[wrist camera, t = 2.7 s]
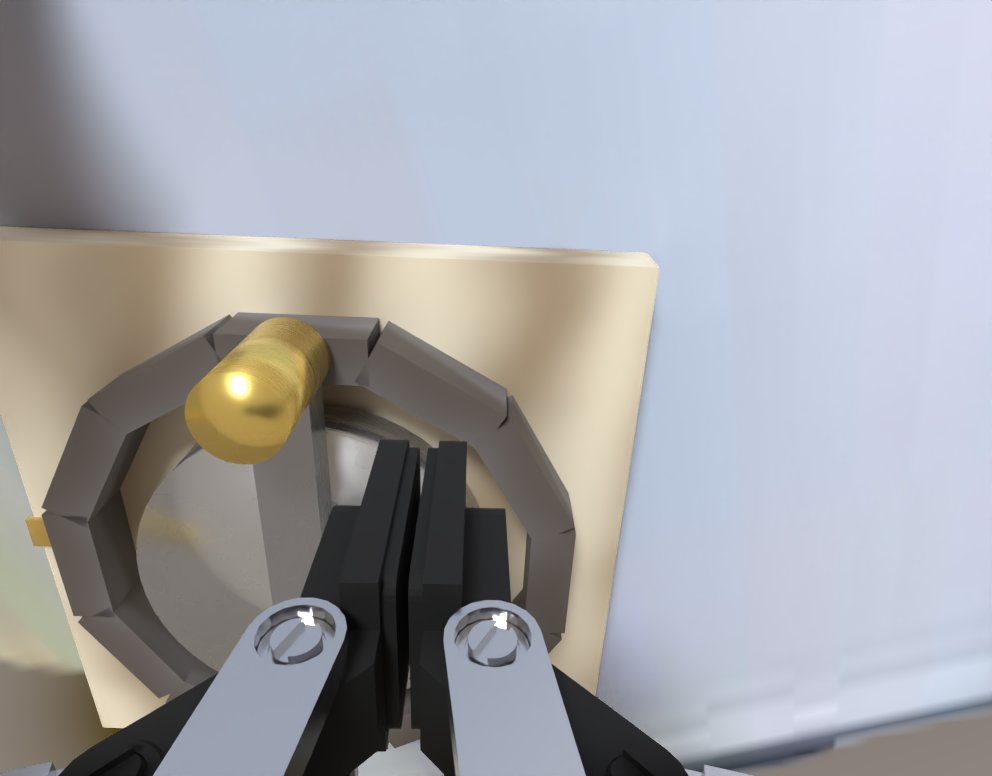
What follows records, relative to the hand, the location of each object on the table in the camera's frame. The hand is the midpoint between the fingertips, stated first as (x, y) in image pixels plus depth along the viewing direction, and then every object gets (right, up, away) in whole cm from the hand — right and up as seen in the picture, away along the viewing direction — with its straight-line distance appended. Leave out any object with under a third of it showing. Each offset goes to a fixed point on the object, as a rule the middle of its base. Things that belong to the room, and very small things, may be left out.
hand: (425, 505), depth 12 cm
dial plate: (-5, -3, +14) cm, 15 cm away
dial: (-5, -2, +11) cm, 12 cm away
